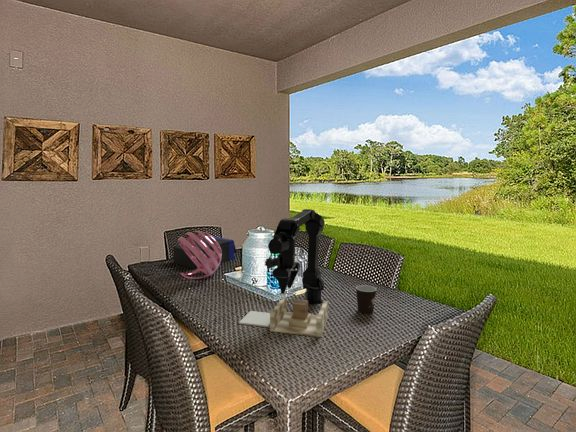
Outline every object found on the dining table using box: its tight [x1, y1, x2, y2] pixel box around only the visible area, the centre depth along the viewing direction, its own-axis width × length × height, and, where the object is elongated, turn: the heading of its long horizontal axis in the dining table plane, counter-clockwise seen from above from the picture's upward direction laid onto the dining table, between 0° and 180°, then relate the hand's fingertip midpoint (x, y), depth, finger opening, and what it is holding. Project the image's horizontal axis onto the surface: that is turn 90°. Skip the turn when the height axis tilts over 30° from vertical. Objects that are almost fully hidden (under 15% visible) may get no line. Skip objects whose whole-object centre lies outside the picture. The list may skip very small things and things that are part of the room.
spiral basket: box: [177, 230, 222, 280], centre depth 199 cm, size 28×28×27 cm
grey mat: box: [238, 310, 271, 328], centre depth 140 cm, size 12×12×1 cm
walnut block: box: [292, 298, 309, 320], centre depth 135 cm, size 5×5×6 cm
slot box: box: [269, 296, 329, 338], centre depth 136 cm, size 18×19×7 cm
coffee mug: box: [355, 284, 377, 315], centre depth 149 cm, size 12×9×10 cm
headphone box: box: [172, 236, 238, 270], centre depth 237 cm, size 25×35×14 cm
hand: (286, 290), depth 136 cm, fingers open, 9 cm apart
